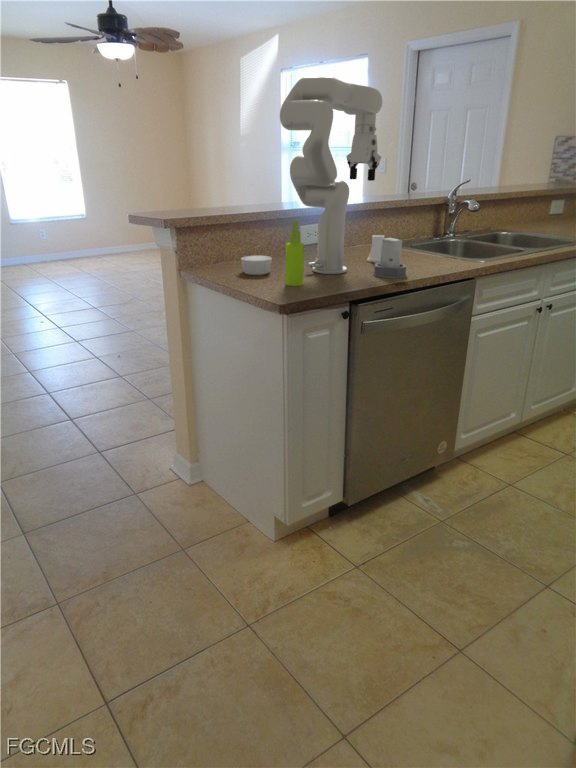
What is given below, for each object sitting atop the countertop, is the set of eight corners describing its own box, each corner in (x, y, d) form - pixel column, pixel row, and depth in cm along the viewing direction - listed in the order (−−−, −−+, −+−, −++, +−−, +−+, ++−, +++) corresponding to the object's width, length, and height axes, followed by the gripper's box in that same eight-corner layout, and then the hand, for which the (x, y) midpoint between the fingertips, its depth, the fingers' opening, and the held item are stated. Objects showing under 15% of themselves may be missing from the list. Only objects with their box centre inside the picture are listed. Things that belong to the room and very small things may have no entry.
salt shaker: (371, 258, 224) (373, 233, 220) (388, 260, 220) (390, 235, 217) (363, 261, 218) (365, 236, 214) (381, 263, 215) (383, 237, 211)
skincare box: (378, 272, 197) (381, 238, 192) (387, 271, 200) (389, 237, 195) (391, 276, 193) (394, 240, 188) (399, 274, 195) (403, 239, 190)
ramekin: (237, 270, 202) (237, 256, 200) (266, 268, 205) (266, 254, 203) (246, 276, 192) (245, 261, 190) (276, 274, 196) (276, 259, 194)
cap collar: (390, 279, 189) (391, 270, 187) (366, 274, 197) (367, 264, 196) (412, 275, 195) (413, 266, 194) (388, 270, 204) (389, 260, 202)
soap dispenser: (302, 281, 186) (303, 220, 178) (303, 286, 180) (304, 223, 172) (285, 281, 186) (285, 220, 178) (285, 286, 180) (286, 222, 172)
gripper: (389, 130, 199) (385, 180, 206) (355, 131, 212) (353, 178, 219) (374, 130, 195) (371, 181, 202) (341, 130, 207) (339, 179, 214)
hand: (362, 179), depth 210 cm, fingers open, 9 cm apart
